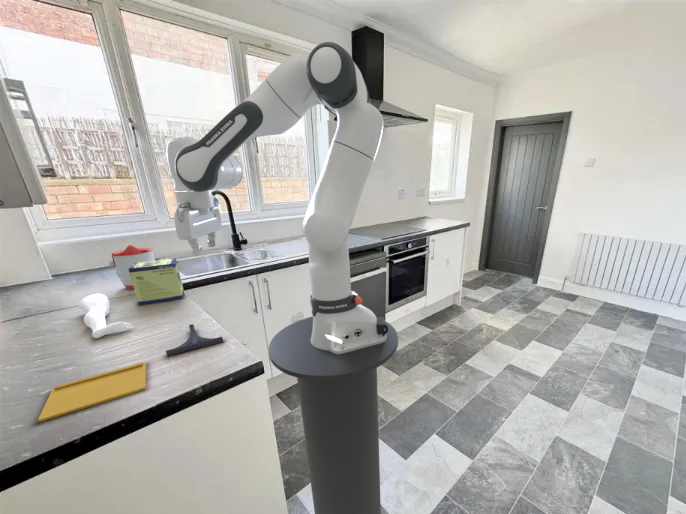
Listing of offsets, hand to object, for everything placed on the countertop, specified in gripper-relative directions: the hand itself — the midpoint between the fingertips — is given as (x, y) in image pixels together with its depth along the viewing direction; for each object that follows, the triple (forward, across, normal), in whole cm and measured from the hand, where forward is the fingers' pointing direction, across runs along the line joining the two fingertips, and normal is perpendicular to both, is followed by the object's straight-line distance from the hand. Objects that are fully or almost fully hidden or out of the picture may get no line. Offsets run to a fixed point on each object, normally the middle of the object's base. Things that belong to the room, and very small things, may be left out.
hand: (205, 249), depth 92 cm
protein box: (+28, +37, +39) cm, 60 cm away
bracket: (+28, -4, +7) cm, 29 cm away
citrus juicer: (+28, +55, +59) cm, 85 cm away
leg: (+28, +15, +47) cm, 57 cm away
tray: (+28, -27, +18) cm, 43 cm away
